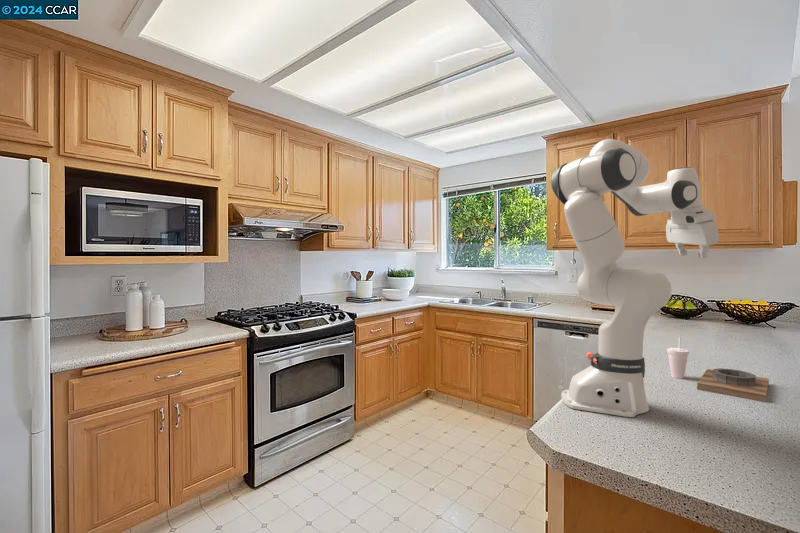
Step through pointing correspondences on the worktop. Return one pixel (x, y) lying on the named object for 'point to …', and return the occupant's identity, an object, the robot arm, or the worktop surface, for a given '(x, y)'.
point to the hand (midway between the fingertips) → (693, 256)
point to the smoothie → (677, 361)
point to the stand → (734, 384)
